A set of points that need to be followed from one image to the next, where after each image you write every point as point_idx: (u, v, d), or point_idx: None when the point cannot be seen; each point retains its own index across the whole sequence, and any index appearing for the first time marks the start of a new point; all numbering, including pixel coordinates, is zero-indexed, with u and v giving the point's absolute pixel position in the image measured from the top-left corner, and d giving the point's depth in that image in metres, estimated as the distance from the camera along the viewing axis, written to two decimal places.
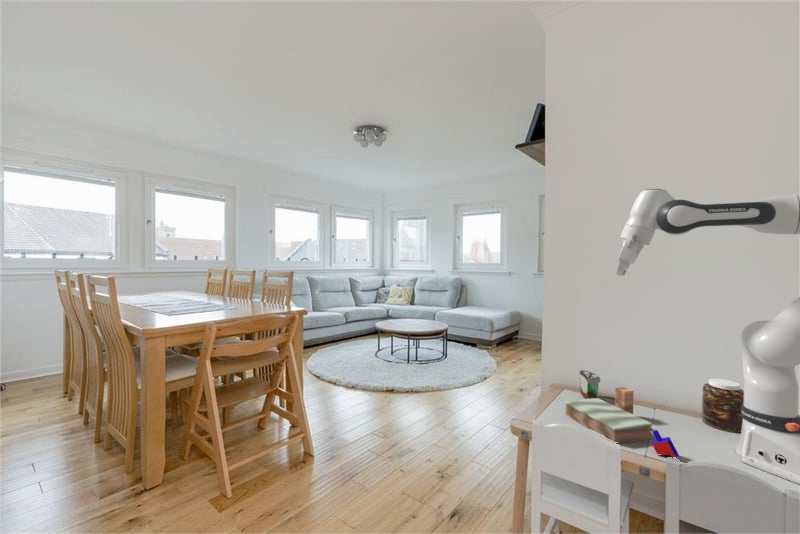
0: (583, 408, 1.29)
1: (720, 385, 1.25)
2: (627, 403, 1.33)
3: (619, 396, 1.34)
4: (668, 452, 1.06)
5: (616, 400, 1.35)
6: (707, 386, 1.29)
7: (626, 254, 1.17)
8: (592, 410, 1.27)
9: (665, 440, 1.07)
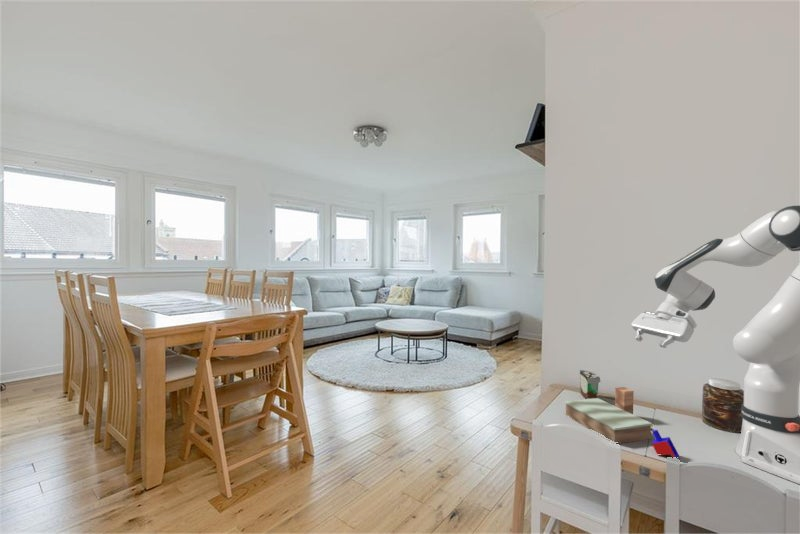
0: (583, 408, 1.29)
1: (720, 385, 1.25)
2: (627, 403, 1.33)
3: (619, 396, 1.34)
4: (668, 452, 1.06)
5: (616, 400, 1.35)
6: (707, 386, 1.29)
7: None
8: (592, 410, 1.27)
9: (665, 440, 1.07)
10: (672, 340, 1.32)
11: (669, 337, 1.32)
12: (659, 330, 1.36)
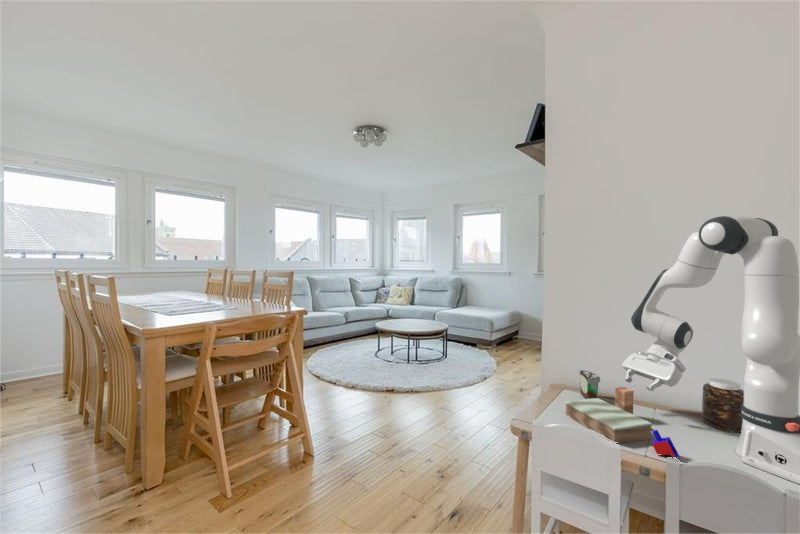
0: (583, 408, 1.29)
1: (720, 385, 1.25)
2: (627, 403, 1.33)
3: (619, 396, 1.34)
4: (668, 452, 1.06)
5: (616, 400, 1.35)
6: (707, 386, 1.29)
7: None
8: (592, 410, 1.27)
9: (665, 440, 1.07)
10: (659, 383, 1.31)
11: (656, 380, 1.31)
12: (647, 372, 1.35)
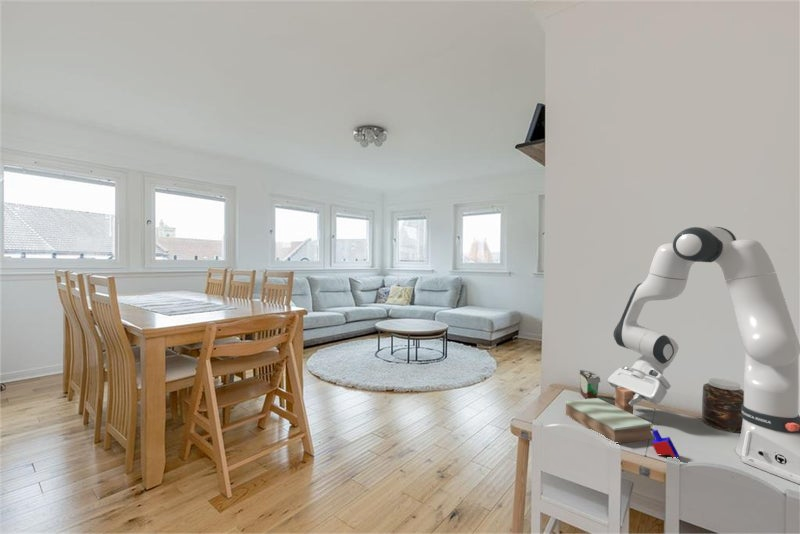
0: (583, 408, 1.29)
1: (720, 385, 1.25)
2: None
3: (619, 396, 1.34)
4: (668, 452, 1.06)
5: (616, 400, 1.35)
6: (707, 386, 1.29)
7: None
8: (592, 410, 1.27)
9: (665, 440, 1.07)
10: (639, 399, 1.31)
11: (636, 395, 1.31)
12: (632, 389, 1.33)
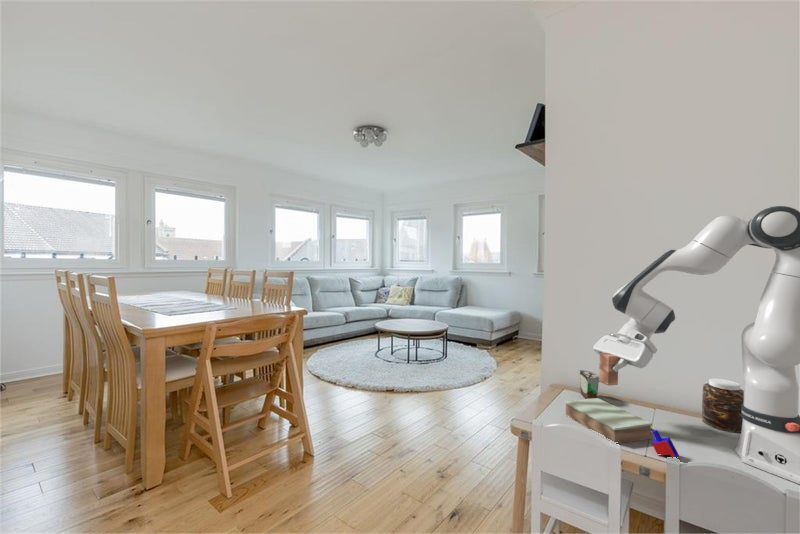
0: (583, 408, 1.29)
1: (720, 385, 1.25)
2: None
3: (603, 362, 1.28)
4: (668, 452, 1.06)
5: (600, 366, 1.29)
6: (707, 386, 1.29)
7: None
8: (592, 410, 1.27)
9: (665, 440, 1.07)
10: (624, 364, 1.24)
11: (621, 360, 1.25)
12: (617, 354, 1.27)
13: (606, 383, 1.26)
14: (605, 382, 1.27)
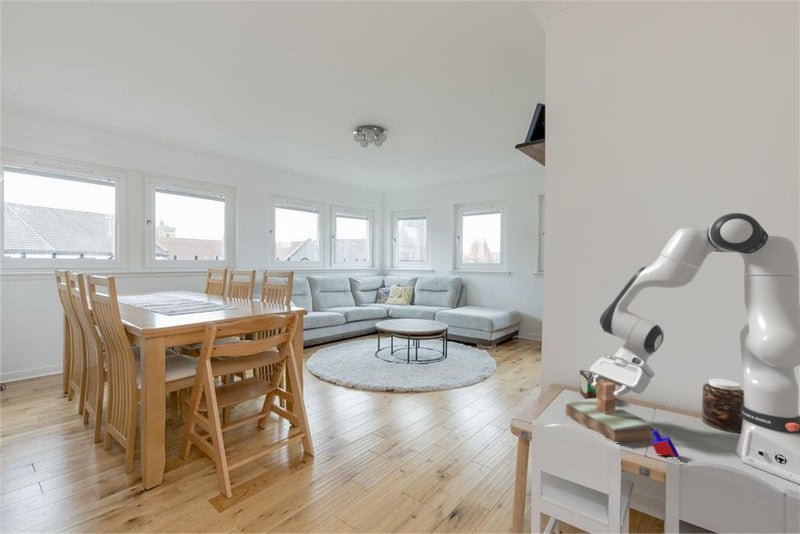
0: (583, 408, 1.29)
1: (720, 385, 1.25)
2: (609, 397, 1.24)
3: (600, 390, 1.26)
4: (668, 452, 1.06)
5: (597, 394, 1.27)
6: (707, 386, 1.29)
7: None
8: (592, 410, 1.27)
9: (665, 440, 1.07)
10: (626, 390, 1.21)
11: (623, 387, 1.21)
12: (614, 378, 1.25)
13: (603, 412, 1.25)
14: (602, 411, 1.25)
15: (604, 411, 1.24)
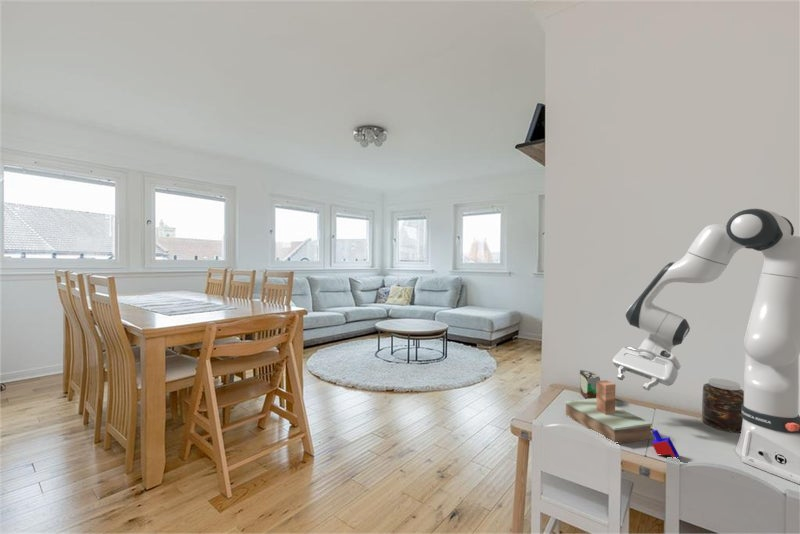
0: (583, 408, 1.29)
1: (720, 385, 1.25)
2: (609, 397, 1.24)
3: (600, 390, 1.26)
4: (668, 452, 1.06)
5: (597, 394, 1.27)
6: (707, 386, 1.29)
7: None
8: (592, 410, 1.27)
9: (665, 440, 1.07)
10: (656, 383, 1.25)
11: (653, 379, 1.25)
12: (642, 370, 1.29)
13: (603, 412, 1.25)
14: (602, 411, 1.25)
15: (604, 411, 1.24)
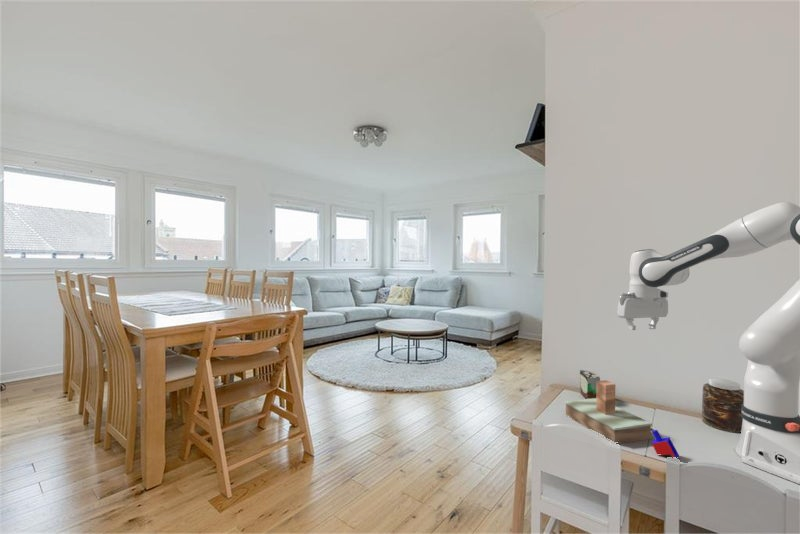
0: (583, 408, 1.29)
1: (720, 385, 1.25)
2: (609, 397, 1.24)
3: (600, 390, 1.26)
4: (668, 452, 1.06)
5: (597, 394, 1.27)
6: (707, 386, 1.29)
7: (621, 311, 1.36)
8: (592, 410, 1.27)
9: (665, 440, 1.07)
10: None
11: (657, 319, 1.39)
12: (650, 315, 1.37)
13: (603, 412, 1.25)
14: (602, 411, 1.25)
15: (604, 411, 1.24)
